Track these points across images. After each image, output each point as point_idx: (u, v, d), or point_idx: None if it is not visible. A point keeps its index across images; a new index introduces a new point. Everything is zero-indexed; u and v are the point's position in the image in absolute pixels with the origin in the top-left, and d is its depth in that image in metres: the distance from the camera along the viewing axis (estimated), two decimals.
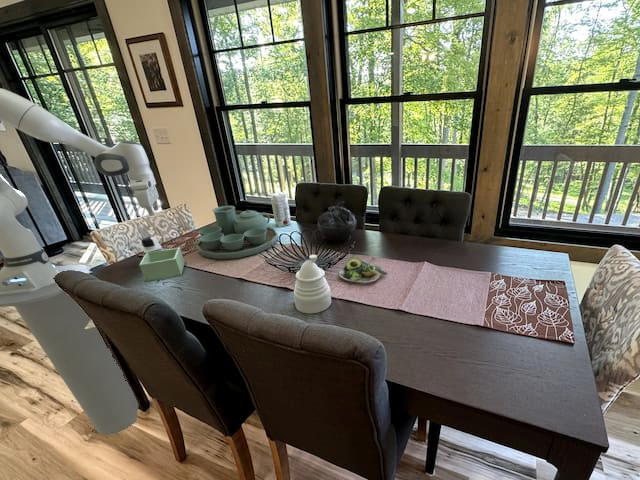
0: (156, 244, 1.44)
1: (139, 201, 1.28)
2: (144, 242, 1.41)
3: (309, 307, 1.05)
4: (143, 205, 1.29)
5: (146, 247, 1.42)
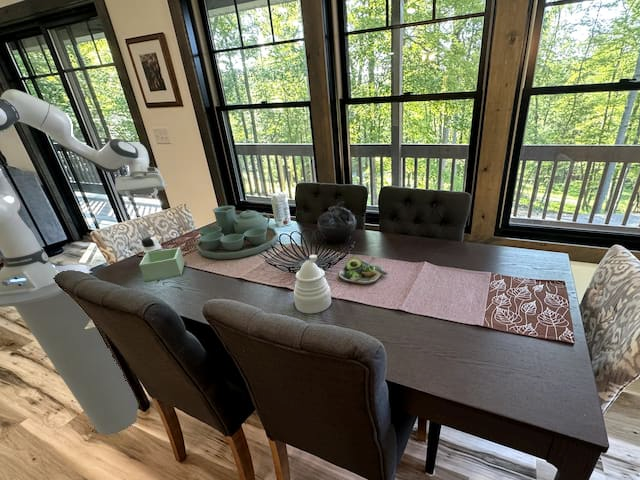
0: (156, 244, 1.44)
1: (163, 181, 1.50)
2: (144, 242, 1.41)
3: (309, 307, 1.05)
4: (164, 184, 1.50)
5: (146, 247, 1.42)
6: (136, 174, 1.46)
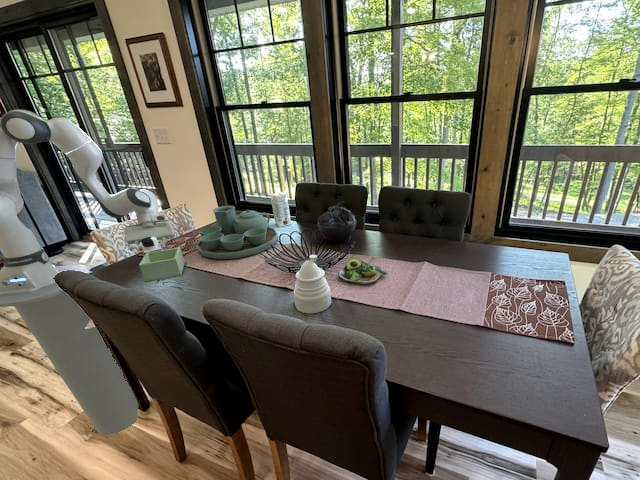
0: (156, 244, 1.44)
1: (172, 229, 1.49)
2: (144, 242, 1.41)
3: (309, 307, 1.05)
4: (174, 233, 1.49)
5: (146, 247, 1.42)
6: (145, 224, 1.45)
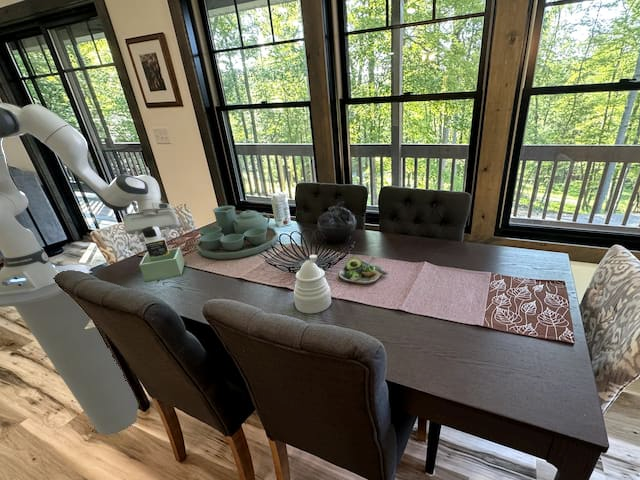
0: (158, 234, 1.30)
1: (176, 218, 1.35)
2: (145, 232, 1.27)
3: (309, 307, 1.05)
4: (178, 222, 1.35)
5: (147, 238, 1.28)
6: (147, 212, 1.31)
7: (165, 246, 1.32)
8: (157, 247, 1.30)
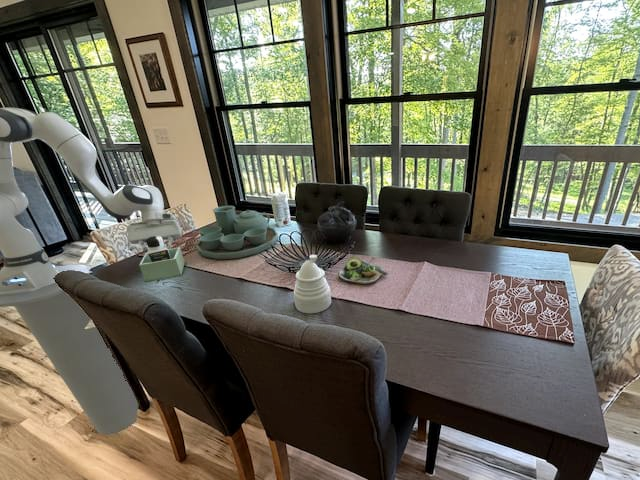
0: (162, 244, 1.32)
1: (179, 228, 1.37)
2: (149, 242, 1.29)
3: (309, 307, 1.05)
4: (181, 232, 1.37)
5: (151, 247, 1.30)
6: (150, 222, 1.33)
7: (168, 256, 1.34)
8: (160, 257, 1.32)
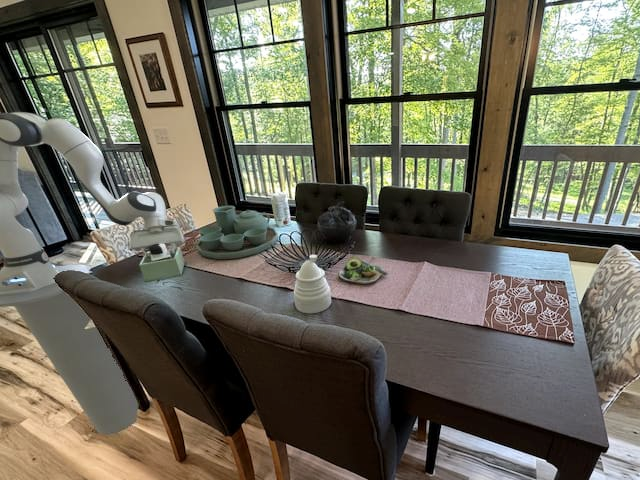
0: (165, 251, 1.34)
1: (182, 234, 1.38)
2: (152, 249, 1.31)
3: (309, 307, 1.05)
4: (183, 238, 1.39)
5: (154, 255, 1.32)
6: (153, 229, 1.35)
7: None
8: None
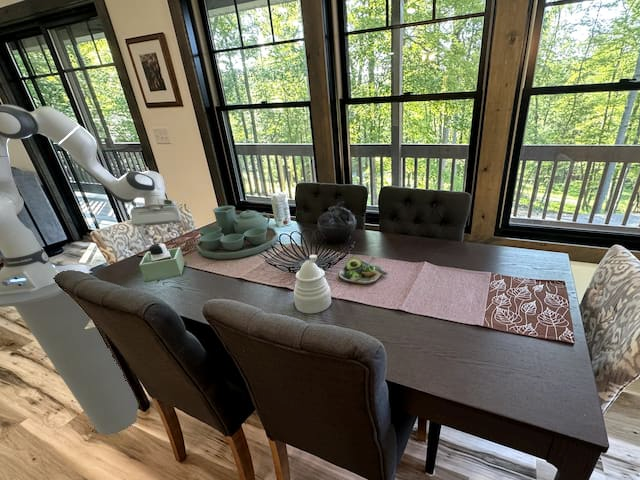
0: (165, 251, 1.34)
1: (179, 214, 1.47)
2: (152, 249, 1.31)
3: (309, 307, 1.05)
4: (181, 218, 1.47)
5: (154, 255, 1.32)
6: (152, 207, 1.43)
7: None
8: None
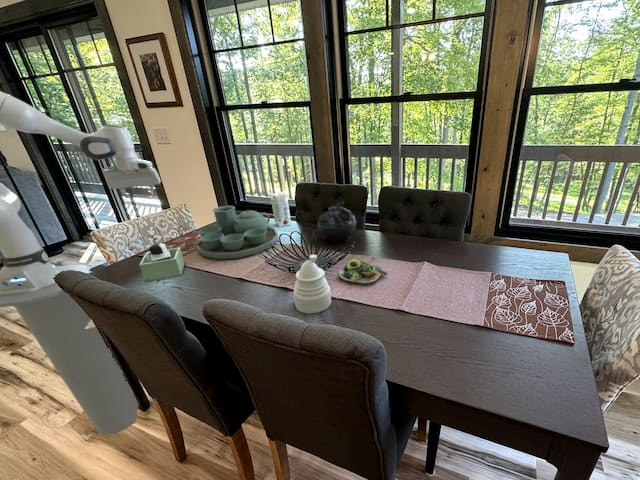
0: (165, 251, 1.34)
1: (157, 177, 1.42)
2: (152, 249, 1.31)
3: (309, 307, 1.05)
4: (159, 181, 1.43)
5: (154, 255, 1.32)
6: (127, 171, 1.36)
7: None
8: None
